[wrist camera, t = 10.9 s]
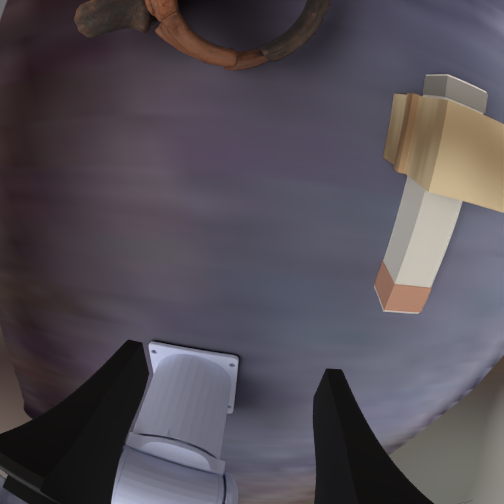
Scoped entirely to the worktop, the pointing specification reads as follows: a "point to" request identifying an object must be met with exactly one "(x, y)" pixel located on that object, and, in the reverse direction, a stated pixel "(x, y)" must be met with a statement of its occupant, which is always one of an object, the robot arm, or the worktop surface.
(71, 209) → the worktop surface
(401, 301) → the white bar
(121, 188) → the worktop surface
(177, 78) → the worktop surface
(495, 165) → the tan wooden brick
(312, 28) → the pottery mug
